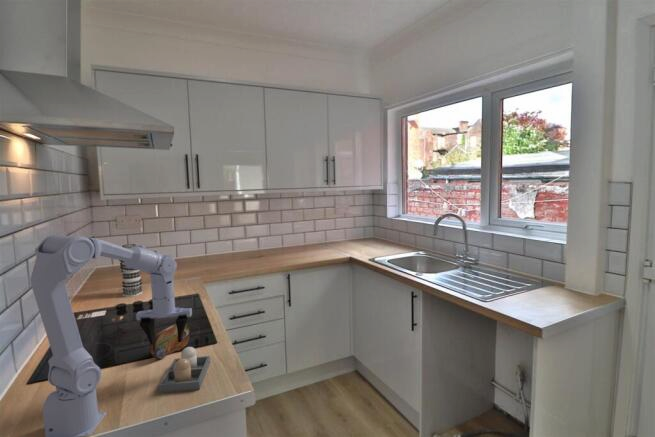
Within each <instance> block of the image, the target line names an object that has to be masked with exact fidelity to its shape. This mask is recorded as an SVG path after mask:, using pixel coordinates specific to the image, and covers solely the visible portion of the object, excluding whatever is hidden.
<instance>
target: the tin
mask: <svg viewBox="0 0 655 437" xmlns="http://www.w3.org/2000/svg"><path fill="white" fill-rule="evenodd" d="M191 337H192V330H191V327H190V325H189V324H188V323H186V325H185V328H184V333H183V340H182V341H181V342H178V331H177V325H176V323H174V324H172V325H170V326H168V327H166V328H165V329H163V330H161V331H158V332H157V333H155V342H154V343H153V344H150V343H149V345H150V346H149V347H150V348H149V350H150V355H151V356H152V357H153V358H155V359H159V360H163V359H165V358H166V357H167V356H169V355H171V354H172V353H174V352H175V351H181V350H183V349H185V348H186V346H187V345H188V344H189V342H190V339H191Z"/></svg>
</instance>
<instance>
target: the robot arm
mask: <svg viewBox="0 0 655 437" xmlns="http://www.w3.org/2000/svg"><path fill="white" fill-rule="evenodd" d="M137 246H138V247H137ZM34 253H35V256H36V257H35V261H34V265H33V268H32V272H31V275H30V285H31V288H32V291H33V295H34V297H35V302H36V305H37V308H38V311H39V314H40V318H41V321H42V323H43V328H44V330H45V333H46V337H47V339H48V342H49V343H48V344H49V347H50V350H51V352H52V356H51V357H50V358H49V360H48V362H47V363H48V367H49V368H48V369H49V370H48V374H47V380H48V382H49V383H50V385H51V386H53V387H55V391H52V392H51V393H49V394H48V396H47V397H46V398H45V401H44V403H43V407H42V415H43V416H42V417H43V426H44V432H45V433H44V435H45V437H89V436H91V435H92V434H93V433H94V431H95V429H96V428H97V427H98V425H100V423H101V421H102V420H103V419H104V417H105V416H106V414H108V413H107V411H101V412H99V408H98V407H99V406H98V398H97V397H98V396H97V386H98V385H99V384H100V380H101V379H102V369H101V367H99V366H98V365H97V364H96V363H95V362H94V359H93V356H92V355H91V354H90V353H89V352H88V351H87V350H86V349H85V347H84V346H83V341H82V339H81V335H80V331H79V327H78V324H77V320H76V317H75V313H74V310H73V307H72V303H71V300H70V296H69V293H68V289H67V286H66V282H67V281H68V280H69V278H70V277H71V276H73V275H74V274H75V273H76V272H78V271H79V270H81V269H82V268H83V267H84V266H86V265H87V264H88V263H89V262H90V261H91V260H92V259H98V258H99V257H105V258H109V259H113V260H117V261H119V260H122V261H124V263H125V265H126V266H127V267H128V268H132V269H136V270H140V272H145V273H147V274H149V275H150V276H149V277H150V287H151V297H152V298H151V299H152V300H151V301H152V309H148V310H141V311H139V310H138V312H137V313H136V315H135V316H136V317H135V318H136V321H140V322H139V326H140V328H142V330H143V331H144V333H145V334H146V336H147V340H148V341H149V345H150V344H153V343H154V342H155V335H156V333H155V321H156V319H166V318H177V319H176V320H175V324H176V325H177V331H178V342H181V341H182V340H183V333H184V328H185V325H186V324H187V322H188V319H189V318H191V317H192V315H193V309H192V307H191V308H190V307H188V308H187V307H185V308H184V307H176V301H175V288H174V287H175V286H174V278H175V272H176V270H177V268H178V263H177V262H176V260H175V258H174V257H173V256H172V255H169V254H161V252H160V250H150V249H147V247H146V246H144V245H141V244H140V245H136V246H134V247H132V248H130V249H127V248H124V247H122V246H121V245H118V244H115V243H111V242H109V241H106V240H102V239H100V238H93V237H86V236H84V235H77V236H75V235H73V236H72V235H64V234H58V233H57V234H56V233H54V234H51V235H48V236H47V237H45V238H44V239H43V240H42V241H41V242H40V243H39V244H38V245H37V246H36V248H34Z"/></svg>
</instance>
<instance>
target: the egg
mask: <svg viewBox="0 0 655 437" xmlns="http://www.w3.org/2000/svg"><path fill="white" fill-rule="evenodd" d="M197 353H198V352H197V350H196V349H195V348H194V347H193V346H187V347H184V348H183V349H182V351H181V353H180V358H181V359H182V358H185V359H188V360H189V362H190V364H191V369H192V368H197V357H198V356H197Z"/></svg>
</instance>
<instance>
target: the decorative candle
mask: <svg viewBox="0 0 655 437" xmlns="http://www.w3.org/2000/svg"><path fill="white" fill-rule="evenodd" d="M134 246H137V247H138V246H139V245H136V244H135V243H127V244H123V245H122V246H121V247H124V248H127V249H130V248H132V247H134ZM118 261H119V262H120V263H119V266H120V273H121V274H122V282H121V283H122V293H123V295H122V296H123V297H124V296H125V297H126V298H132V297H133V296H134V297H137V296H140V294H141V295H142V294H143V285H142V283H143V282H142V280H143V279H141V278H142V277H141V271H140V270H136V269H132V268H128V267H127V266H126V265H125V263H124V261H122V260H118ZM125 297H124V298H125Z"/></svg>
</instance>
